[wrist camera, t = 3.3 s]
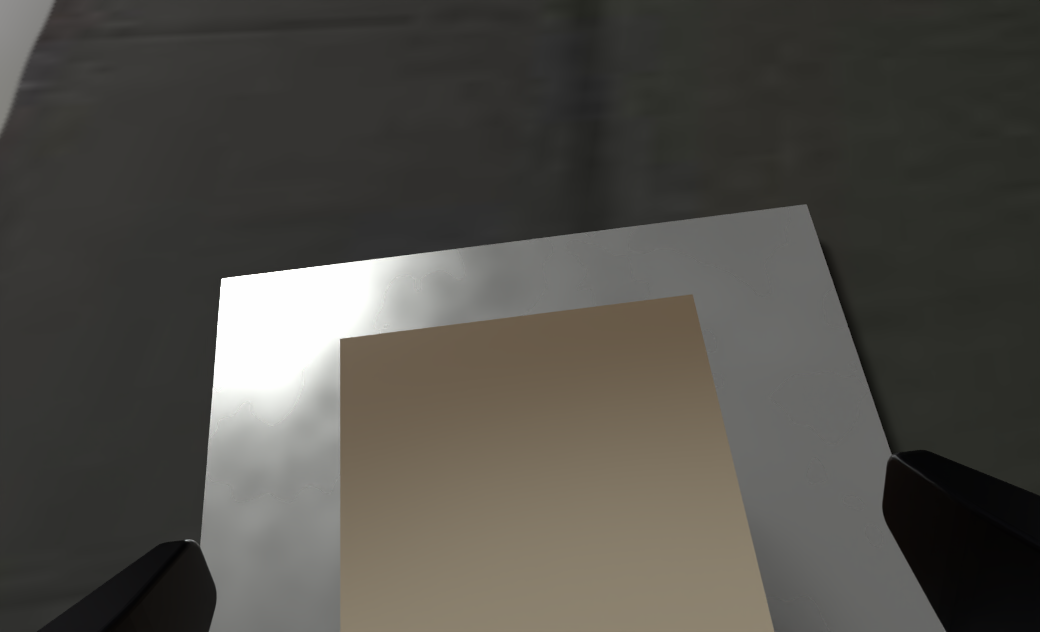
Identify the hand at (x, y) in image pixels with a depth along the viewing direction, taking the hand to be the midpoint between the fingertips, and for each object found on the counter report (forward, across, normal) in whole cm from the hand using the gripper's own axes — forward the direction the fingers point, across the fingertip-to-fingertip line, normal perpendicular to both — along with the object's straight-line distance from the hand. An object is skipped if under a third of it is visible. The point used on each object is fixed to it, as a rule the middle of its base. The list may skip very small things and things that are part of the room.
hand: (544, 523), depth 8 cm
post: (+6, 0, +6) cm, 8 cm away
